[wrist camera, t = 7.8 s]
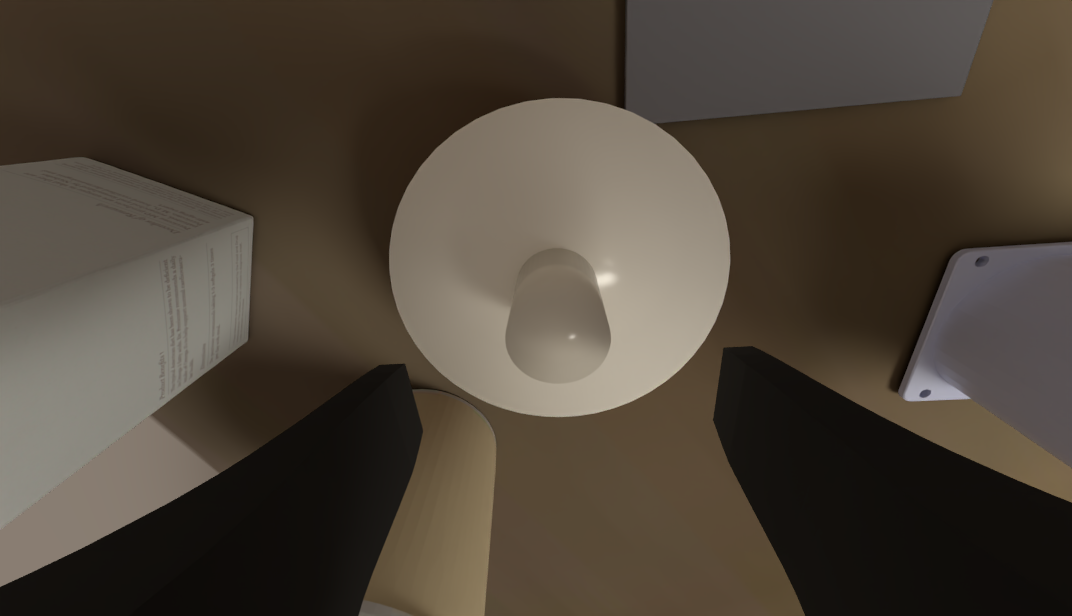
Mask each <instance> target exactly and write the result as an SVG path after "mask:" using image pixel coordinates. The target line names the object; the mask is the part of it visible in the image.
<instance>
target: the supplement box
mask: <svg viewBox="0 0 1072 616" xmlns="http://www.w3.org/2000/svg"><path fill="white" fill-rule="evenodd" d="M252 242H253V217H252V216H251V215H248V214H245V213H243V212H240V211H237V210H234V209H232V208H229V207H226V206H224V205H220V204H218V203H215V202H212V201H209V200H206V199H203V198H201V197H198V196H195V195H193V194H190V193H187V192H184V191H181V190H178V189H175V188H173V187H170V186H167V185H164V184H162V183H159V182H156V181H153V180H150V179H147V178H144V177H142V176H139V175H136V174H133V173H130V172H127V171H124V170H121V169H118V168H116V167H114V166H110V165H107V164H104V163H101V162H98V161H95V160H92V159H88V158H85V157H75V158H65V159H58V160H49V161H41V162H32V163H20V164H12V165H3V166H0V530H1V529H2V528H4V527H5V526H6V525H7V524H9V523H10V522H11V521H13V520H14V519H15V518H17V517H18V516H19V515H20V514H22V513H23V512H24V511H26V510H27V509H28V508H30V507H31V506H32V505H34V504H35V503H36V502H37V501H39V500H40V499H41V498H43V497H44V496H45V495H46V494H48V493H49V492H51V491H52V490H53V489H54V488H56V487H57V486H58V485H60V484H61V483H62V482H64V481H65V480H66V479H67V478H69V477H70V476H71V475H73V474H74V473H75V472H77V471H78V470H79V469H81V468H82V467H83V466H85V465H86V464H87V463H89V462H90V461H91V460H92V459H94V458H95V457H96V456H98V455H99V454H100V453H102V452H103V451H104V450H106V449H107V448H108V447H109V446H110V445H112V444H113V443H115V442H116V441H117V440H119V439H120V438H121V437H123V436H124V435H125V434H126V433H128V432H129V431H130V430H131V429H133V428H134V427H136V426H137V425H138V424H139V423H141V422H142V421H143V420H145V419H146V418H147V417H149V416H150V415H151V414H152V413H154V412H155V411H156V410H158V409H159V408H161V407H162V406H163V405H164V404H166V403H167V402H168V401H169V400H171V399H172V398H173V397H175V396H176V395H177V394H179V393H180V392H181V391H183V390H184V389H185V388H186V387H188V386H189V385H190V384H192V383H193V382H194V381H196V380H197V379H198V378H200V377H201V376H202V375H204V374H205V373H206V372H208V371H209V370H210V369H212V368H213V367H214V366H216V365H217V364H218V363H220V362H221V361H222V360H223V359H225V358H226V357H227V356H229V355H230V354H231V353H233V352H234V351H235V350H236V349H238V348H239V347H240V346H242V345H243V344H245V343H246V342H247V341H248V329H249V307H250V285H251V263H252Z"/></svg>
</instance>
